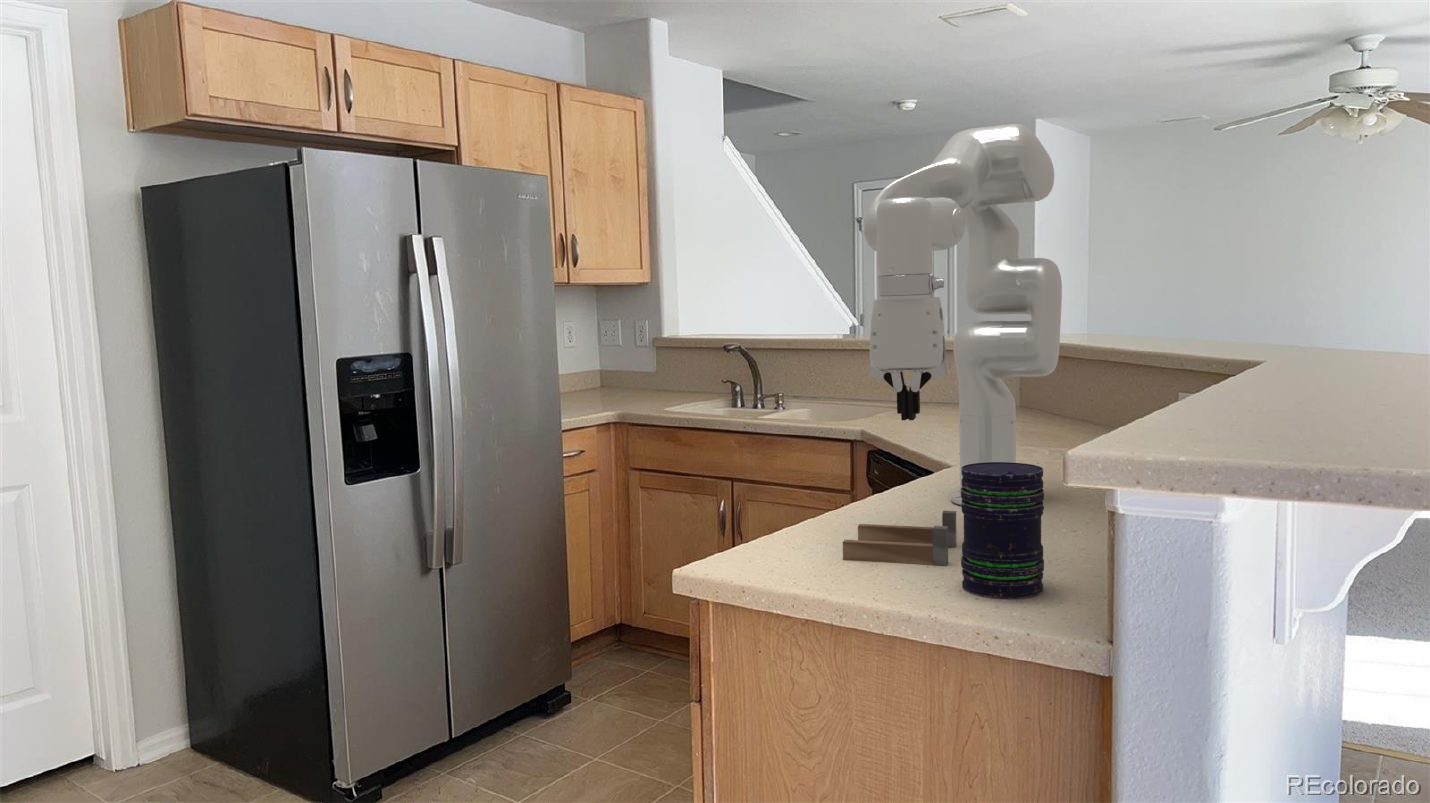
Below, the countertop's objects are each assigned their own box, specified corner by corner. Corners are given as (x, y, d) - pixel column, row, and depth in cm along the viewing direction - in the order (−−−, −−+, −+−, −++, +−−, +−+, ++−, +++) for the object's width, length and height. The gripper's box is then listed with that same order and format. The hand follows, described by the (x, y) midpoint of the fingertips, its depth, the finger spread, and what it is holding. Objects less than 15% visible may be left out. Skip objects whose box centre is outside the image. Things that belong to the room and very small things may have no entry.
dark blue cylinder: (950, 578, 129) (950, 463, 128) (1025, 575, 130) (1025, 460, 128) (976, 601, 119) (975, 476, 118) (1057, 597, 120) (1057, 473, 119)
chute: (860, 539, 152) (859, 507, 151) (956, 544, 147) (956, 510, 146) (842, 559, 140) (842, 524, 140) (946, 565, 136) (946, 529, 135)
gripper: (963, 285, 141) (965, 415, 143) (857, 289, 146) (861, 415, 148) (957, 286, 134) (960, 423, 136) (846, 291, 139) (851, 422, 141)
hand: (908, 418), depth 142 cm, fingers closed
